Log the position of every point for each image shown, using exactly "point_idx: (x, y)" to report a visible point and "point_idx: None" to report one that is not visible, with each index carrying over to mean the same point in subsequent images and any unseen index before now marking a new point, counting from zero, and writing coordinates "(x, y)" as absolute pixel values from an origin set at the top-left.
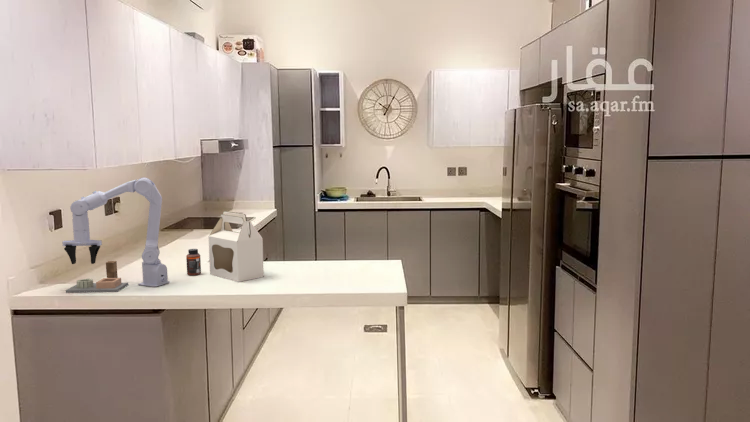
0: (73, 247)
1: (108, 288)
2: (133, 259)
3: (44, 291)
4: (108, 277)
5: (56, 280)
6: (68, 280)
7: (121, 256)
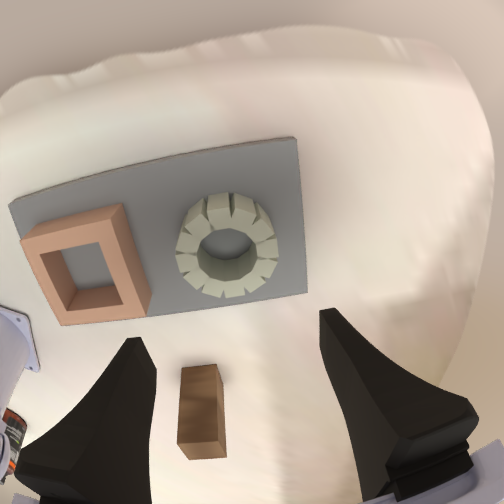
0: (373, 478)
1: (58, 213)
2: (294, 494)
3: (423, 161)
4: (208, 378)
5: (435, 332)
6: (393, 343)
7: (336, 494)
